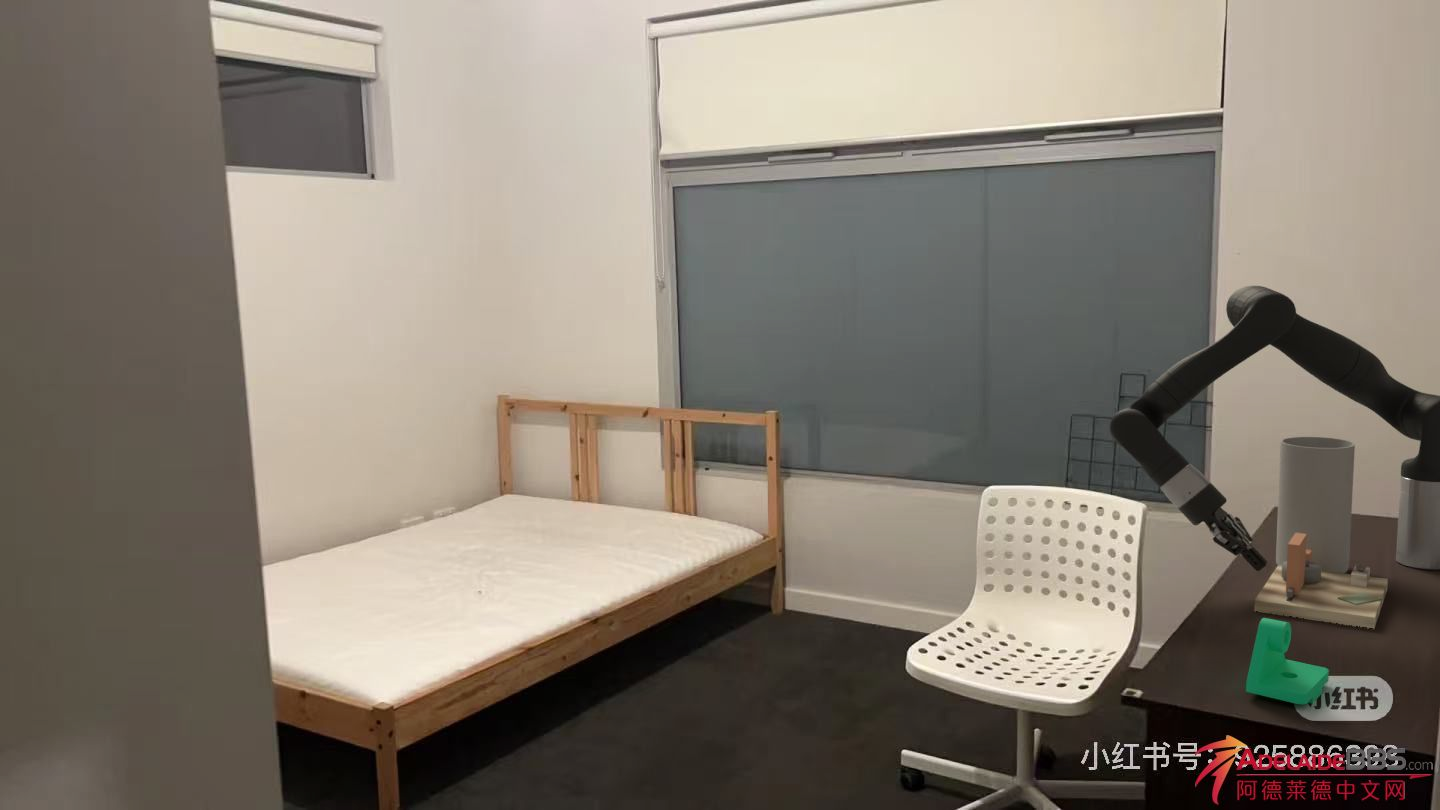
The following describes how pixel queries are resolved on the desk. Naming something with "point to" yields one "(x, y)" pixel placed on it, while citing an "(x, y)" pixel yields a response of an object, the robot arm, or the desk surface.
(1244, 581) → the desk surface
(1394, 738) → the desk surface
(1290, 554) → the orange grey panel fixture
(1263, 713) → the desk surface
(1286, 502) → the cylinder vase
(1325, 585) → the level stand
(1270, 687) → the camera mount
